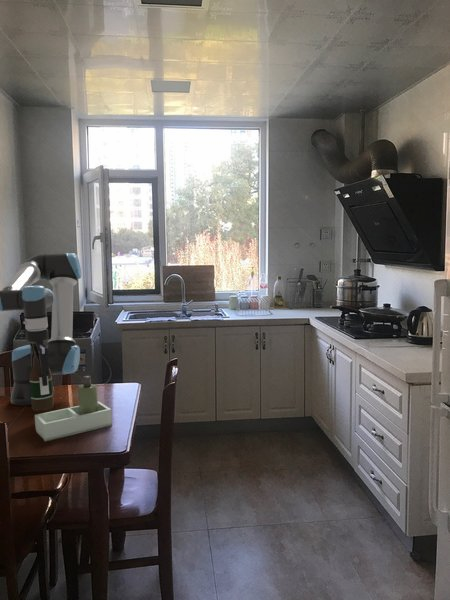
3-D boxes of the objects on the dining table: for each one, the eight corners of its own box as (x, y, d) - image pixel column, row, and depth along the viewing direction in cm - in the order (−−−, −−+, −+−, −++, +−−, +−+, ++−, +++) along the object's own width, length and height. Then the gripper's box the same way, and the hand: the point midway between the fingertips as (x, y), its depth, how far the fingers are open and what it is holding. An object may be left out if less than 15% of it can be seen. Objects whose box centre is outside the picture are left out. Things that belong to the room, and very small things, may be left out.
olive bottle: (77, 422, 176) (74, 376, 175) (95, 418, 180) (92, 373, 178) (83, 426, 171) (80, 380, 169) (101, 422, 175) (98, 376, 173)
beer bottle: (47, 412, 175) (41, 345, 172) (27, 411, 176) (21, 345, 173) (58, 404, 182) (53, 341, 179) (39, 404, 184) (34, 340, 181)
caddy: (35, 431, 171) (34, 414, 170) (100, 416, 184) (99, 401, 183) (45, 441, 161) (43, 424, 160) (112, 425, 174) (111, 409, 173)
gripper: (19, 327, 182) (24, 387, 185) (33, 334, 165) (38, 400, 168) (40, 324, 186) (44, 383, 189) (55, 331, 169) (60, 396, 172)
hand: (41, 391), depth 178 cm, fingers closed on beer bottle, 8 cm apart
